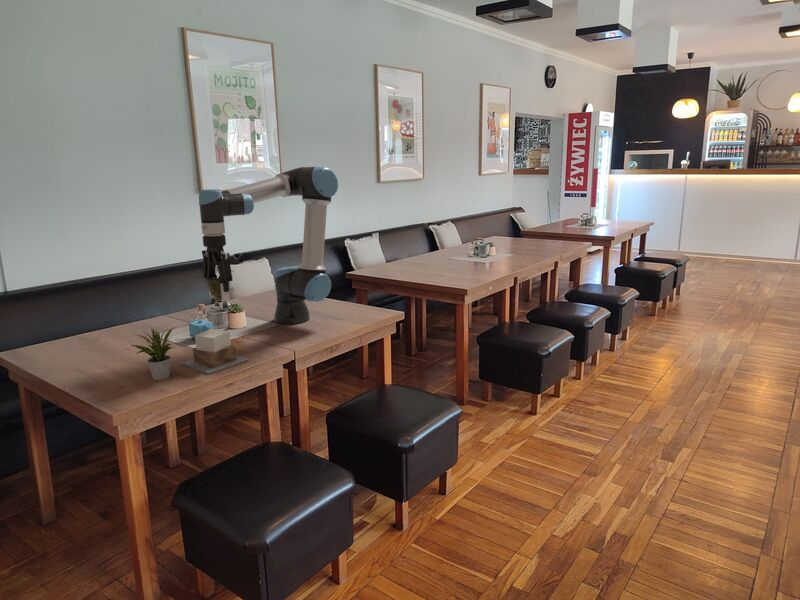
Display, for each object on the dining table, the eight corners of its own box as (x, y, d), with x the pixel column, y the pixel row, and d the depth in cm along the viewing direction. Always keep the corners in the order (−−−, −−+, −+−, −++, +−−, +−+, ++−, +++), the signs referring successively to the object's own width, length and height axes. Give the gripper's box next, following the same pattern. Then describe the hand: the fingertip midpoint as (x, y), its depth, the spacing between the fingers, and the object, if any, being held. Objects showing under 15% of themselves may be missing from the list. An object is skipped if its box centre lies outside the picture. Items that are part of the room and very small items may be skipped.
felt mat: (222, 351, 205) (222, 350, 205) (249, 360, 195) (249, 359, 195) (181, 364, 193) (181, 363, 193) (208, 374, 183) (208, 373, 183)
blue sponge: (185, 337, 224) (183, 318, 222) (199, 333, 228) (197, 315, 226) (202, 342, 216) (200, 323, 214) (216, 338, 221) (214, 320, 219)
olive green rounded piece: (210, 303, 195) (208, 280, 194) (207, 299, 202) (205, 277, 200) (232, 300, 199) (230, 278, 197) (229, 296, 205) (227, 275, 203)
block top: (213, 342, 198) (211, 328, 196) (231, 345, 194) (229, 331, 193) (196, 349, 191) (194, 335, 189) (215, 352, 187) (213, 337, 186)
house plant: (163, 365, 193) (157, 319, 189) (195, 370, 187) (189, 323, 183) (129, 380, 180) (122, 331, 176) (162, 386, 175) (155, 335, 171)
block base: (219, 354, 201) (218, 340, 199) (236, 359, 194) (235, 346, 193) (194, 362, 193) (192, 348, 192) (211, 368, 187) (209, 354, 186)
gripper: (188, 233, 198) (195, 297, 204) (220, 237, 186) (226, 305, 191) (207, 231, 204) (213, 293, 209) (240, 235, 191) (245, 301, 197)
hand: (219, 299), depth 200 cm, fingers closed on olive green rounded piece, 7 cm apart
